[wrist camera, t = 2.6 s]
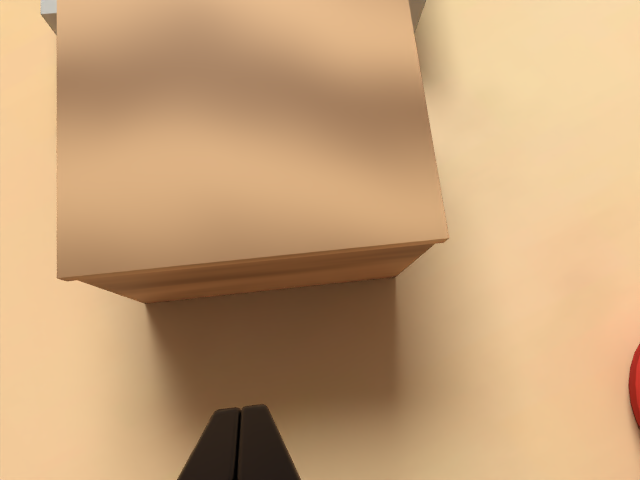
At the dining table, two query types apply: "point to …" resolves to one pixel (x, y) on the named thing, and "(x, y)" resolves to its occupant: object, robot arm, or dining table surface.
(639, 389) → the canned food
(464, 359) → the dining table surface
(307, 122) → the tea box
